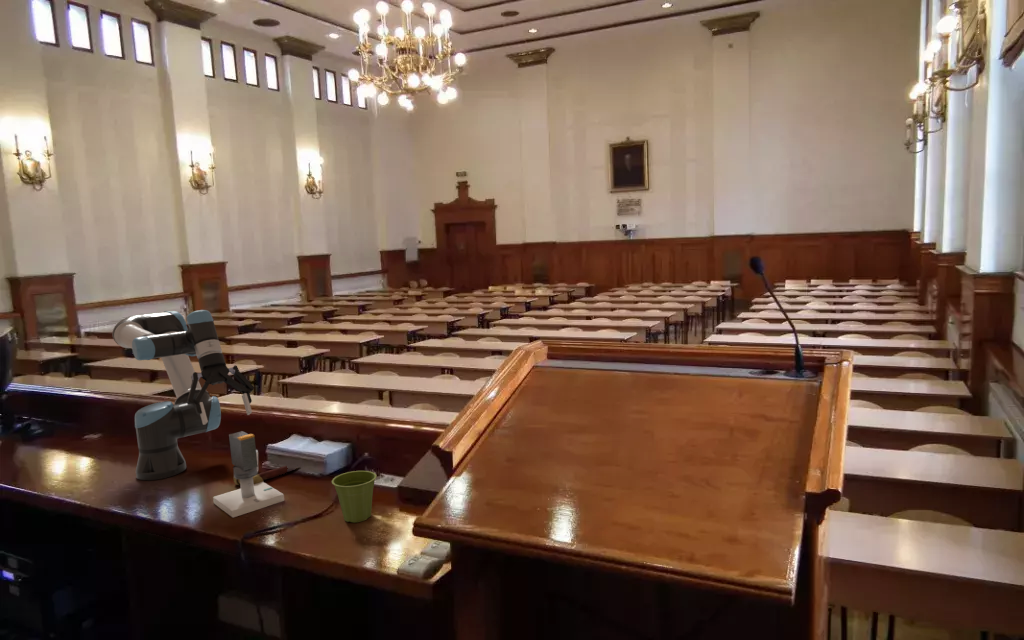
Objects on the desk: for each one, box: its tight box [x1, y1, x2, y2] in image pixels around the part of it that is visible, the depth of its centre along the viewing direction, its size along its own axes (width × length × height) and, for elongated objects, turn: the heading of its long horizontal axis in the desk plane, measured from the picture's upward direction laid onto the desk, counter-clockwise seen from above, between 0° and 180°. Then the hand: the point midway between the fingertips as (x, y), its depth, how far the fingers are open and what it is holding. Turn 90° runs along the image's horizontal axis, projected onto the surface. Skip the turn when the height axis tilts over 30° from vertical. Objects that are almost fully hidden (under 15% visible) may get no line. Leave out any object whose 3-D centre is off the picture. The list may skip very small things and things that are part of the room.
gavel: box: [232, 465, 288, 487], centre depth 213 cm, size 21×5×10 cm
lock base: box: [212, 477, 285, 518], centre depth 194 cm, size 15×15×8 cm
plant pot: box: [331, 470, 378, 524], centre depth 179 cm, size 12×12×11 cm
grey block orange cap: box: [228, 430, 259, 479], centre depth 192 cm, size 9×6×13 cm
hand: (228, 418), depth 206 cm, fingers open, 13 cm apart
